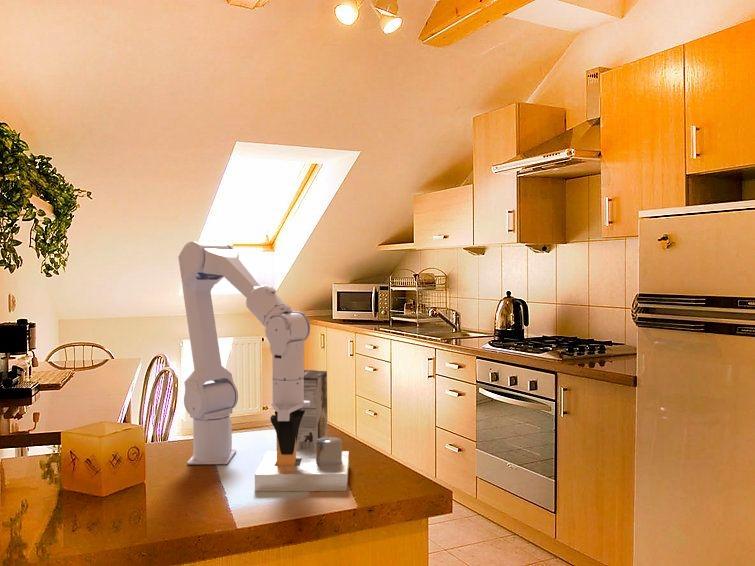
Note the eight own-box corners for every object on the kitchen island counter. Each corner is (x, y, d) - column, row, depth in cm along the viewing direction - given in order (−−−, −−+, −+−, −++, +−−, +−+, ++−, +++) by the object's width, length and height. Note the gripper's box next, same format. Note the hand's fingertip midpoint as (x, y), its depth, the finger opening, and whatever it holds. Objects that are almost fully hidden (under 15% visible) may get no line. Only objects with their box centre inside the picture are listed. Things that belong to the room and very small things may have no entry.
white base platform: (267, 466, 126) (267, 431, 126) (348, 466, 127) (348, 430, 127) (254, 491, 112) (254, 451, 112) (346, 490, 113) (346, 451, 113)
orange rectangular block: (279, 460, 121) (278, 423, 121) (296, 460, 121) (296, 423, 121) (276, 465, 118) (276, 427, 118) (294, 465, 118) (294, 427, 118)
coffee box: (300, 440, 146) (300, 369, 145) (328, 441, 145) (328, 370, 144) (289, 452, 136) (288, 376, 136) (318, 453, 136) (318, 376, 135)
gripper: (306, 384, 112) (306, 462, 112) (313, 371, 126) (313, 440, 127) (265, 385, 112) (265, 462, 112) (277, 371, 126) (277, 440, 127)
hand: (288, 451), depth 119 cm, fingers closed on orange rectangular block, 3 cm apart
